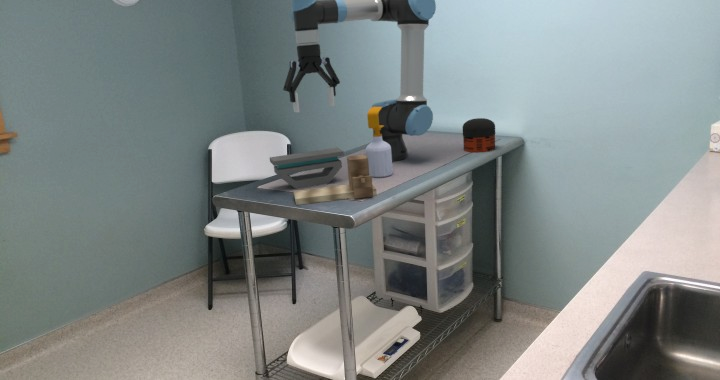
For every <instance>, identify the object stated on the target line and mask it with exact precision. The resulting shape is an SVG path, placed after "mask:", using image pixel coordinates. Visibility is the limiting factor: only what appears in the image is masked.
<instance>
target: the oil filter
mask: <svg viewBox="0 0 720 380" xmlns="http://www.w3.org/2000/svg"><path fill="white" fill-rule="evenodd" d="M462 137H463V140H462V141H463V151H465V152H468V153H477V154H478V153H488V152H491V151H494V150H496V124H495V122H494V121H493V120H491V119H489V118H485V117H484V118H483V117H481V118H480V117H476V118H470V119H469V120H466V121H465V122H464V123H463V125H462Z"/></svg>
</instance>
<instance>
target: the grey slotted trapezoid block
mask: <svg viewBox="0 0 720 380" xmlns="http://www.w3.org/2000/svg"><path fill="white" fill-rule="evenodd" d="M342 156H345V153H344V150H342V149H341V148H339V147H332V148H325V149H319V150H317V149H316V150H312V151H311V150H310V151H305V152H298V153H292V154H285V155H284V154H283V155H277V156H270V157H269V162H270V164H272V165H273V170H274V172H273V173H275V174H276V176H277V177H279V178H280V179H281V180H283V181H285V183H287V184H289V185H290V186H291V187H293V188H294V189H296V190H299V189H304V188H311V187H317V186H323V185H329V184H330V182H331V181H332V180H333V178H334V177H335V176H336V175H337V174H338V172H339V171H340V170H341V169H342V167H343V166H342V165H343V163H342V162H343V161H342V160H341V159H339V158H338V157H342ZM313 170H322V171H319V172H313V173H307V174H300V175H299V174H298V175H292V176H291V175H290V174H294V173H301V172H307V171H313Z"/></svg>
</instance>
